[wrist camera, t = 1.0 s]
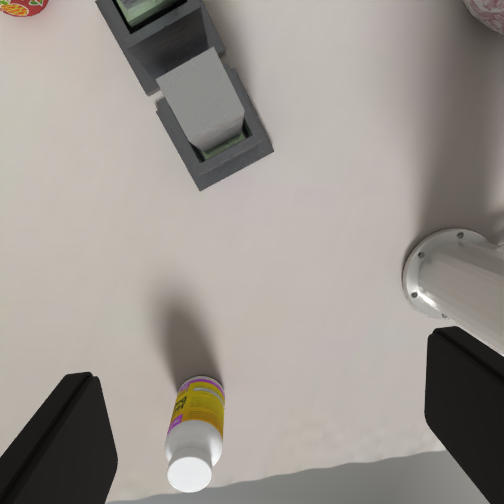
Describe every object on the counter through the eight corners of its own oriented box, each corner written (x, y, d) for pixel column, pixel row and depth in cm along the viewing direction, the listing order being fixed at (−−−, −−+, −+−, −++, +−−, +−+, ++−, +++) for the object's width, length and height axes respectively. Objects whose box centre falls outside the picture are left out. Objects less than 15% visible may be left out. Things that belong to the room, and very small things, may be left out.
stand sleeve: (234, 70, 37) (234, 38, 28) (273, 152, 40) (284, 145, 31) (157, 113, 38) (134, 94, 29) (200, 190, 40) (191, 195, 31)
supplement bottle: (187, 367, 46) (170, 440, 33) (231, 382, 47) (230, 458, 34) (171, 406, 47) (148, 490, 34) (214, 420, 48) (208, 506, 35)
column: (224, 101, 37) (216, 36, 19) (244, 141, 38) (253, 113, 21) (187, 122, 37) (146, 76, 20) (208, 161, 38) (186, 150, 21)
